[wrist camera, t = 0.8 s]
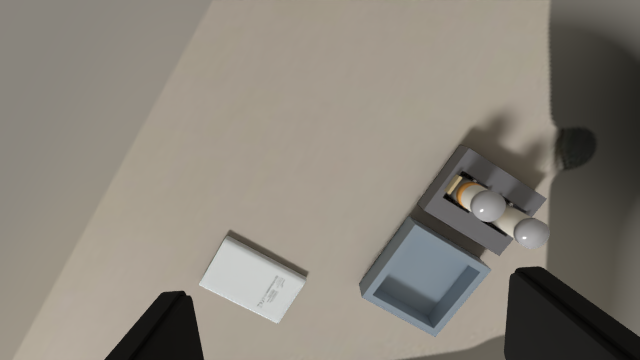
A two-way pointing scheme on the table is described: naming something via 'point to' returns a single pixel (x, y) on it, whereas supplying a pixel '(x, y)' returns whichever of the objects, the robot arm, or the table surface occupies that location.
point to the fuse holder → (490, 180)
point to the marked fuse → (478, 200)
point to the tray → (422, 277)
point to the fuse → (523, 228)
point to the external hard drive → (252, 280)
